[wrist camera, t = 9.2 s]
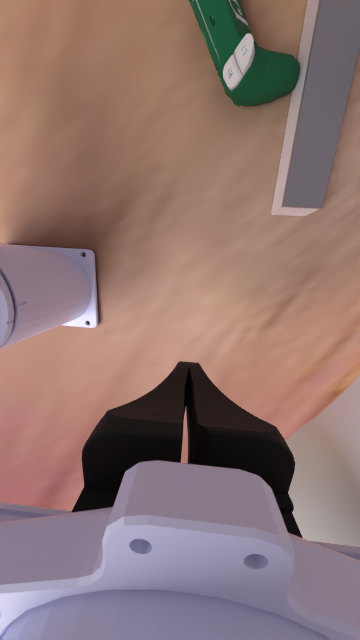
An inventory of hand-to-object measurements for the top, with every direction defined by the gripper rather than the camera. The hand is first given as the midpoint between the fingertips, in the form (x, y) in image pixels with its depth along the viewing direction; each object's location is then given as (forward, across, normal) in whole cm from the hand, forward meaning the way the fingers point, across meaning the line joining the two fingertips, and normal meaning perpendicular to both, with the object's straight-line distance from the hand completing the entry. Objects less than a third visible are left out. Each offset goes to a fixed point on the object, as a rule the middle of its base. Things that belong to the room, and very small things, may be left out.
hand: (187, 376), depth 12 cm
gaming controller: (+9, -2, -23) cm, 25 cm away
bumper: (+8, -8, -20) cm, 23 cm away
